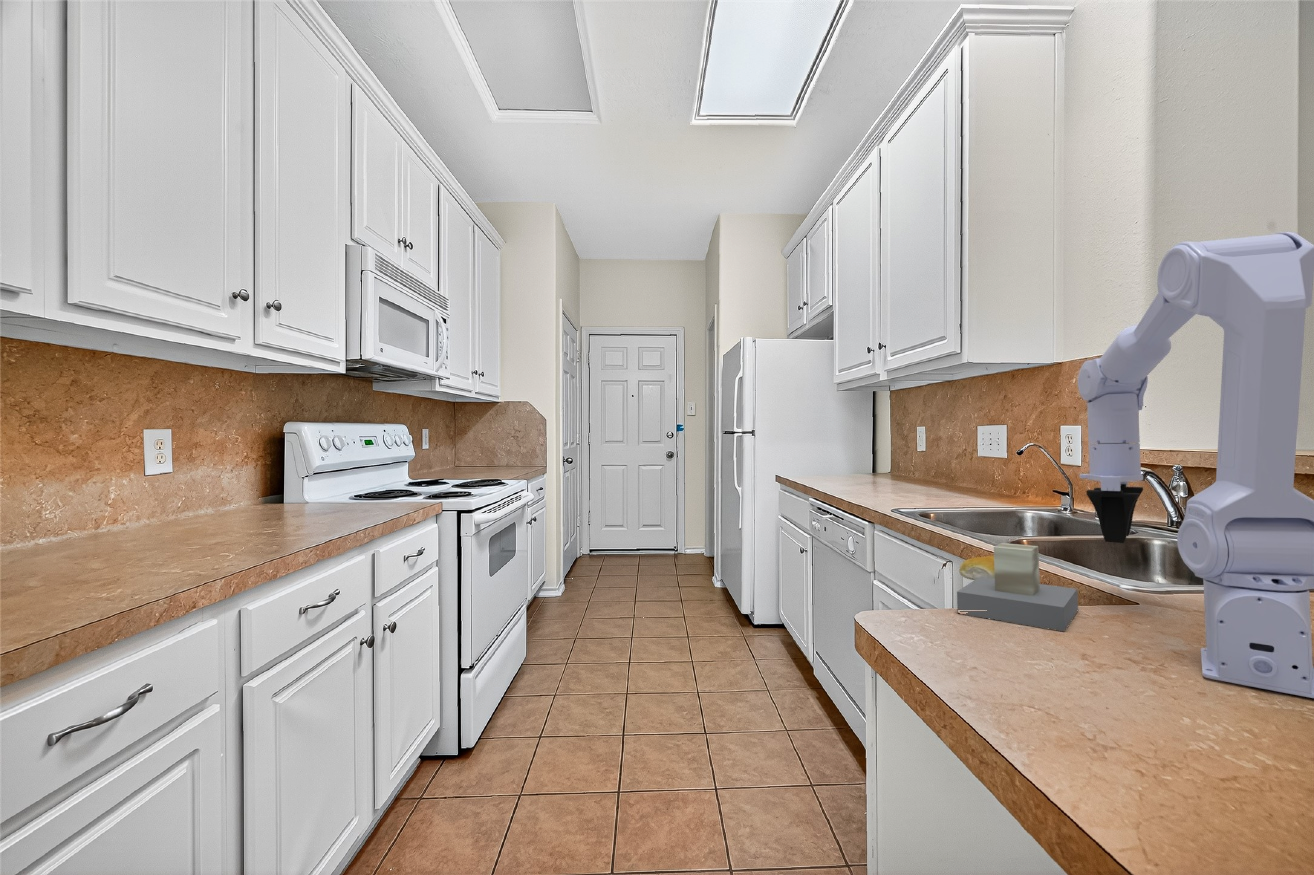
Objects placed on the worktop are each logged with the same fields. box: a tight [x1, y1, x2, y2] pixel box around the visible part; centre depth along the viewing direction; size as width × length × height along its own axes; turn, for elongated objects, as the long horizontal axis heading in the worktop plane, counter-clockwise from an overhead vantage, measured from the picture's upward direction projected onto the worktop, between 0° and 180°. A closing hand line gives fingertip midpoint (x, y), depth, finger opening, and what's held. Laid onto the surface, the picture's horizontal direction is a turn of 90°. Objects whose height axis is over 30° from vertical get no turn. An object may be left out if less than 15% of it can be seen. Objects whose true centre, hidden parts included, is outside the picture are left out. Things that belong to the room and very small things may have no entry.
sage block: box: [993, 542, 1041, 596], centre depth 77 cm, size 4×4×6 cm
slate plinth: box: [956, 577, 1079, 632], centre depth 77 cm, size 12×12×3 cm
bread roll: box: [959, 555, 995, 581], centre depth 98 cm, size 8×9×4 cm
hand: (1117, 538), depth 80 cm, fingers open, 7 cm apart
